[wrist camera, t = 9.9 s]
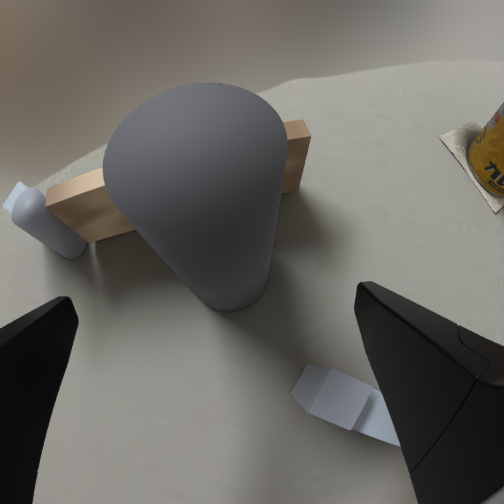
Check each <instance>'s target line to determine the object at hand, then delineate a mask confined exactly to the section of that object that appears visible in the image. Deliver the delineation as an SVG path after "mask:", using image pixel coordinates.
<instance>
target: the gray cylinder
mask: <svg viewBox="0 0 504 504" xmlns="http://www.w3.org/2000/svg"><path fill="white" fill-rule="evenodd" d="M287 153H288V139H287V133H286V130H285V127H284V124H283V122H282V120H281V118H280V117H279V115H278V113H277V112H276V111H275V110H274V109H273V107H272V106H271V105H269V104H268V103H267V102H266V101H265V100H264V99H262V98H261V97H259V96H258V95H256V94H254V93H252V92H250V91H248V90H245V89H243V88H240V87H237V86H233V85H228V84H222V83H196V84H188V85H184V86H179V87H176V88H173V89H170V90H167V91H164V92H162V93H160V94H157V95H156V96H154V97H152V98H150V99H148V100H147V101H145V102H144V103H142V104H141V105H139V106H138V107H137V108H135V109H134V110H133V111H132V112H131V113H130V114H129V115H128V116H127V117H126V118H125V119H124V120H123V121H122V122H121V123H120V124H119V126H118V127H117V129H116V130H115V132H114V133H113V135H112V137H111V139H110V141H109V143H108V145H107V148H106V151H105V155H104V160H103V180H104V183H105V187H106V190H107V192H108V194H109V197H110V198H111V200H112V201H113V203H114V204H115V205H116V207H117V208H118V209H119V210H120V211H121V213H122V214H123V215H124V216H125V217H126V219H127V220H128V221H129V222H130V223H131V224H132V226H133V227H134V228H135V229H136V230H137V231H138V233H139V234H140V235H141V236H142V237H143V238H144V239H145V241H146V242H147V243H148V244H149V245H150V246H151V247H152V248H153V250H154V251H155V252H156V253H157V254H158V255H159V256H160V257H161V259H162V260H163V261H164V262H165V263H166V264H167V265H168V266H169V267H170V268H171V270H172V271H173V272H174V273H175V274H176V275H177V276H178V277H179V278H180V279H181V280H182V281H183V283H184V284H185V285H186V286H187V287H188V288H189V289H190V290H191V291H192V292H193V293H194V294H195V295H196V296H197V297H198V298H199V299H200V300H201V301H202V302H203V303H204V304H205V305H207V306H208V307H210V308H212V309H215V310H218V311H224V312H233V311H238V310H242V309H244V308H246V307H248V306H250V305H252V304H253V303H254V302H255V301H257V300H258V299H259V297H260V296H261V295H262V293H263V292H264V290H265V288H266V285H267V282H268V277H269V271H270V265H271V259H272V252H273V246H274V240H275V233H276V227H277V220H278V214H279V207H280V201H281V194H282V187H283V180H284V174H285V167H286V160H287Z"/></svg>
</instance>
